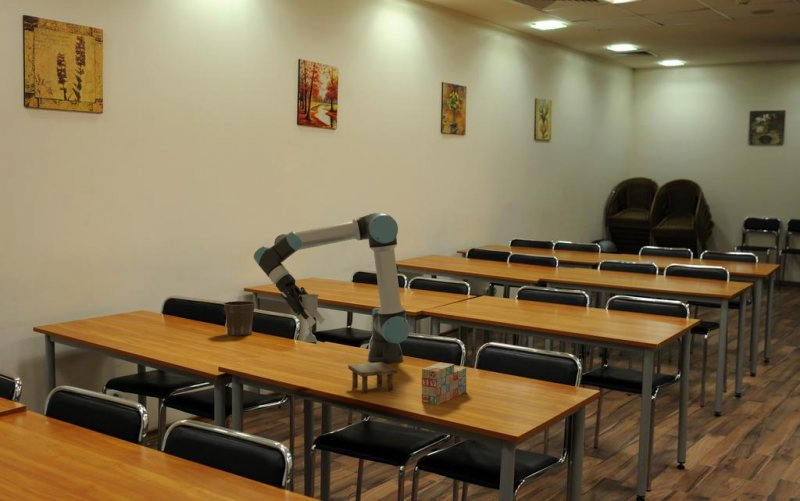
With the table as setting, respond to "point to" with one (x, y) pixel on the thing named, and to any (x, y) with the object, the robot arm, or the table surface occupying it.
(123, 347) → the table surface
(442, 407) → the table surface
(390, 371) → the stool
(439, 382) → the stack of blocks
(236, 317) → the plant pot
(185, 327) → the table surface
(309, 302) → the chalice
